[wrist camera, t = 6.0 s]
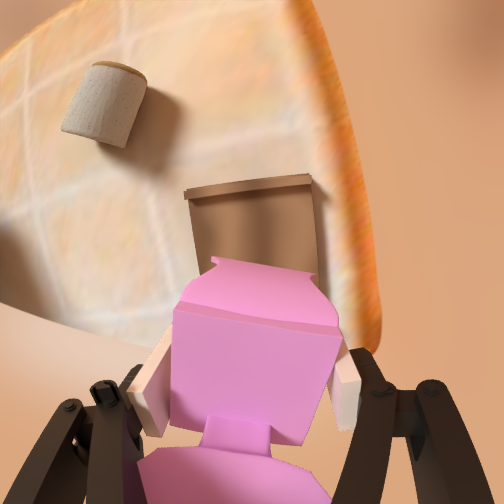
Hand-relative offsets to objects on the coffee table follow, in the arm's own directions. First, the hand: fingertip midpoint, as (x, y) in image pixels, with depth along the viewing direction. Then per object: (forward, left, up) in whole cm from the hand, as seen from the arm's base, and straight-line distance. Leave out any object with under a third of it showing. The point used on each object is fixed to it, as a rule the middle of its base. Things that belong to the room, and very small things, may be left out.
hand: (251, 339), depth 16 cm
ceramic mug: (-15, +20, -16) cm, 29 cm away
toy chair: (0, 0, -2) cm, 2 cm away
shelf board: (0, +1, -16) cm, 16 cm away
